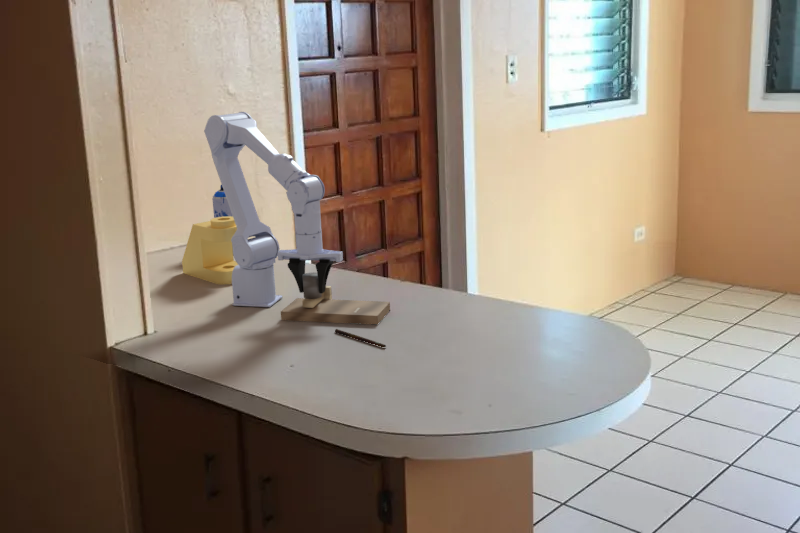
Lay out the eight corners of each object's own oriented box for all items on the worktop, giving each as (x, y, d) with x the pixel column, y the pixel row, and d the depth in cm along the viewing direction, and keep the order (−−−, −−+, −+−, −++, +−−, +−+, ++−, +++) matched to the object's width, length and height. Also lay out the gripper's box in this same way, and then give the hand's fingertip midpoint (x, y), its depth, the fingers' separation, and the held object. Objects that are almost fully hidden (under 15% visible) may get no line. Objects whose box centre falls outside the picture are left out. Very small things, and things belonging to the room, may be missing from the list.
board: (281, 320, 187) (280, 311, 186) (297, 306, 196) (297, 297, 196) (377, 324, 181) (377, 315, 181) (390, 310, 191) (389, 301, 190)
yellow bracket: (254, 278, 221) (249, 218, 217) (224, 286, 215) (218, 224, 211) (213, 266, 235) (207, 209, 231) (183, 273, 229) (177, 214, 225)
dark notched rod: (334, 333, 178) (334, 329, 177) (336, 333, 178) (335, 328, 178) (384, 350, 167) (384, 345, 167) (385, 349, 167) (385, 344, 167)
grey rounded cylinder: (297, 314, 188) (295, 278, 186) (311, 302, 197) (309, 268, 194) (319, 315, 187) (316, 279, 185) (332, 302, 195) (330, 268, 193)
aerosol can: (248, 249, 253) (242, 182, 247) (238, 256, 245) (232, 187, 240) (223, 249, 254) (216, 182, 249) (212, 255, 247) (206, 187, 242)
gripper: (270, 235, 184) (275, 295, 188) (334, 236, 181) (337, 298, 184) (282, 228, 191) (287, 286, 194) (344, 229, 187) (347, 288, 191)
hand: (312, 291), depth 190 cm, fingers closed on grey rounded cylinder, 4 cm apart
